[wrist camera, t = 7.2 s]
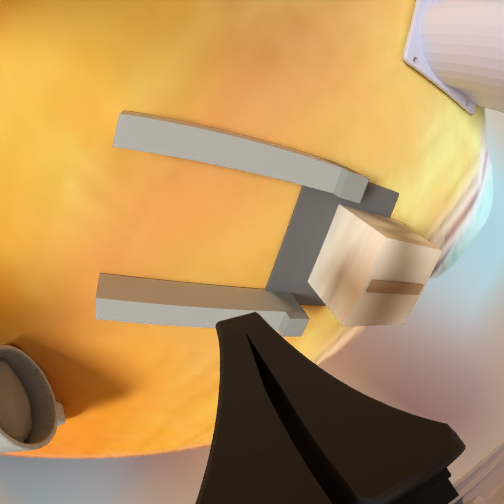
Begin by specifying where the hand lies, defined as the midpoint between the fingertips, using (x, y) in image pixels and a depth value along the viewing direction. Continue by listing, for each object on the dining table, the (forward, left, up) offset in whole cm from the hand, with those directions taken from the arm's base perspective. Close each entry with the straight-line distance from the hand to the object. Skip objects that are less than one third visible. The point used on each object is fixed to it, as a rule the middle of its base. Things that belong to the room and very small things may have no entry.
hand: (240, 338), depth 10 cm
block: (-12, 0, -9) cm, 15 cm away
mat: (-10, 0, -10) cm, 14 cm away
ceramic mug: (+13, +16, -10) cm, 22 cm away
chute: (-1, 0, -10) cm, 10 cm away
